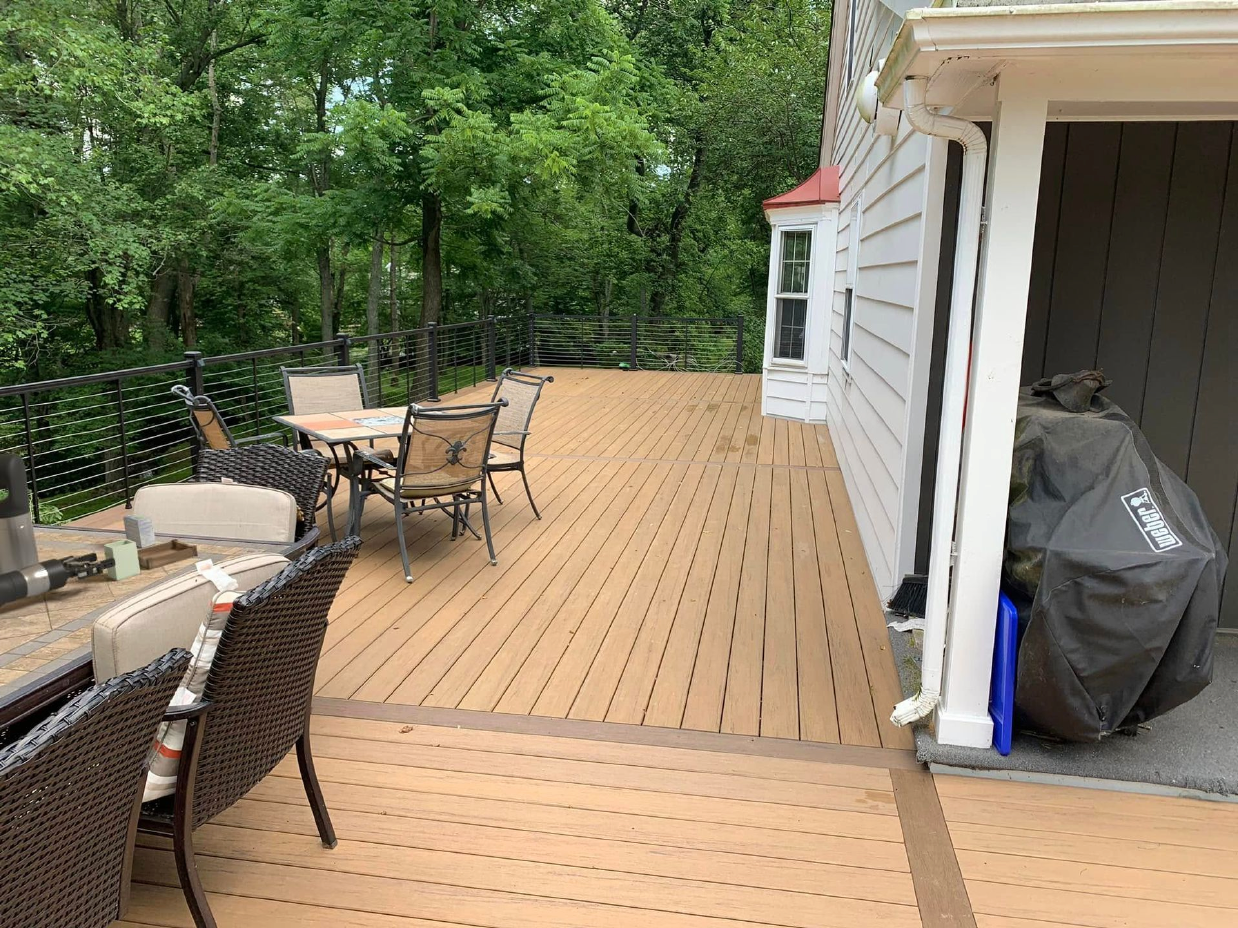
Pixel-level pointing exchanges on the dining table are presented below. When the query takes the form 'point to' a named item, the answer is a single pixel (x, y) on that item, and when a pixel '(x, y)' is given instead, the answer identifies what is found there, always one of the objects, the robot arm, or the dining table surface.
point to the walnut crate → (165, 554)
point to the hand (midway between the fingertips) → (105, 558)
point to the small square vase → (122, 559)
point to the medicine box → (139, 529)
